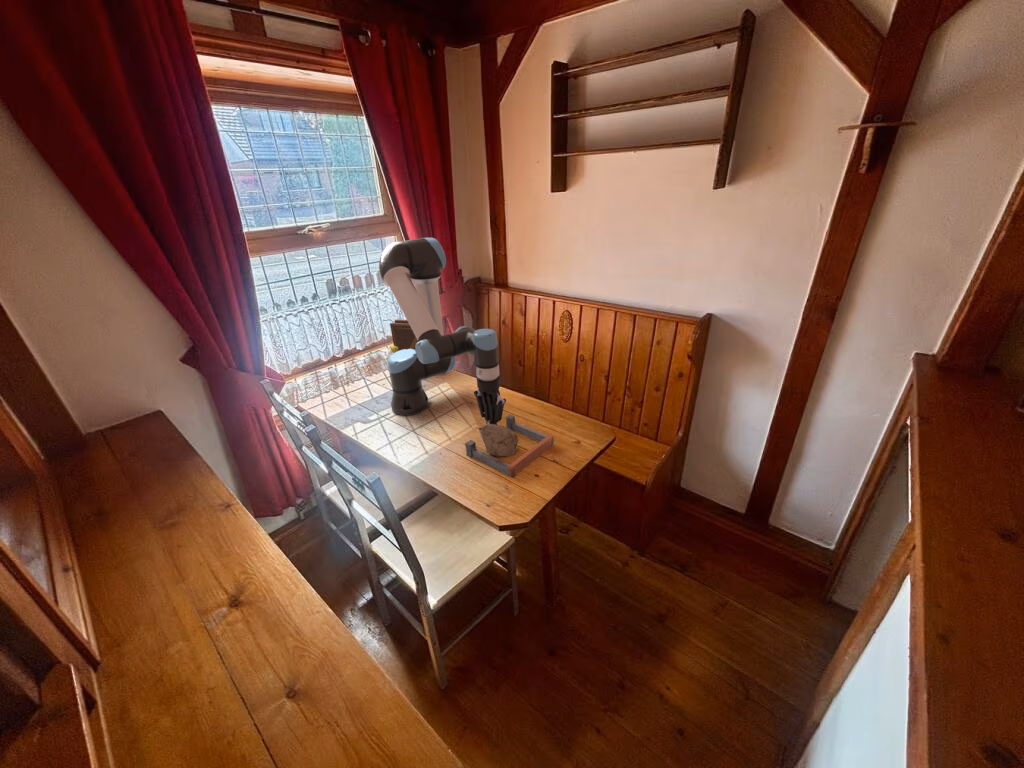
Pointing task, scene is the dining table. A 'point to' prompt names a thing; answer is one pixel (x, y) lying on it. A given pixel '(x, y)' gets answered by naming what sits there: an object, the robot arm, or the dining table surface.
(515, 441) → the rock
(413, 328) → the robot arm
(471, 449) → the frame
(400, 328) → the book
